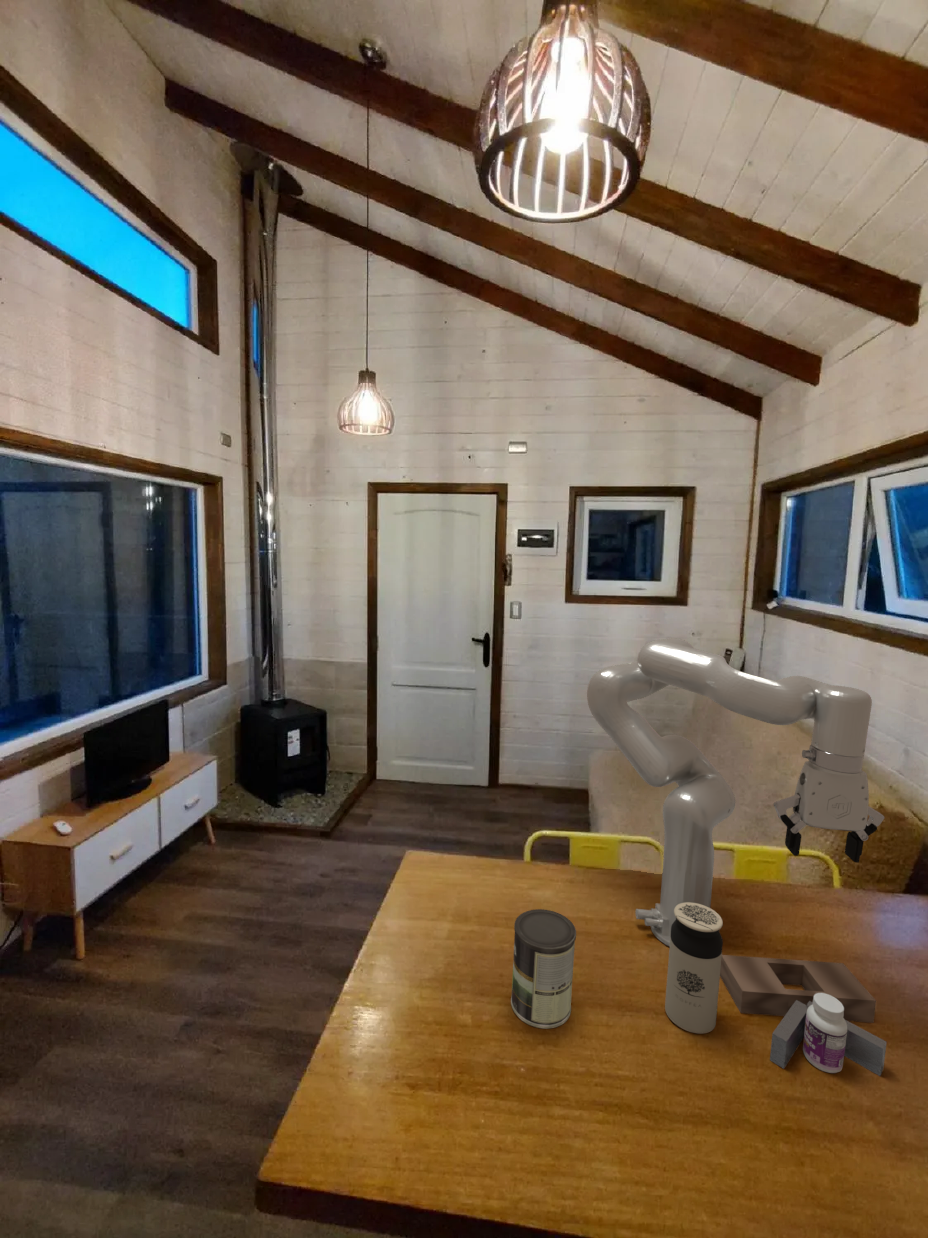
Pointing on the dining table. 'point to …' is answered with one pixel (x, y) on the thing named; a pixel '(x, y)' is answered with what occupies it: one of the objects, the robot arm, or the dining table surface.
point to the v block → (857, 1047)
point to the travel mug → (694, 967)
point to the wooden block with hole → (763, 992)
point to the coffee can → (543, 968)
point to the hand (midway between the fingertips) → (821, 855)
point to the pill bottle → (825, 1033)
